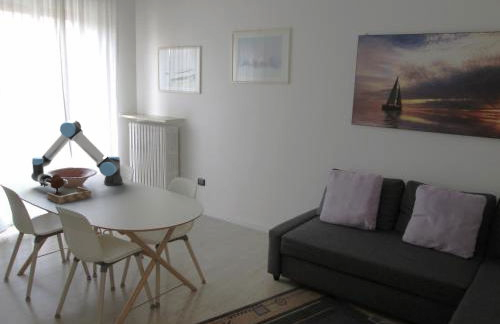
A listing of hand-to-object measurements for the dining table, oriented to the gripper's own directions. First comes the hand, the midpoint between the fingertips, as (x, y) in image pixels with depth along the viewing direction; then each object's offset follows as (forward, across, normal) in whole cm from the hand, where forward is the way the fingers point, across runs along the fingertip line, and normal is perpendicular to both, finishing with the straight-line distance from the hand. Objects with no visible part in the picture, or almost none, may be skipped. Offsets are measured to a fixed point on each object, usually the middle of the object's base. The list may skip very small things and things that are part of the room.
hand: (59, 183), depth 306 cm
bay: (+14, 0, -8) cm, 16 cm away
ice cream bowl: (-4, 0, -9) cm, 9 cm away
